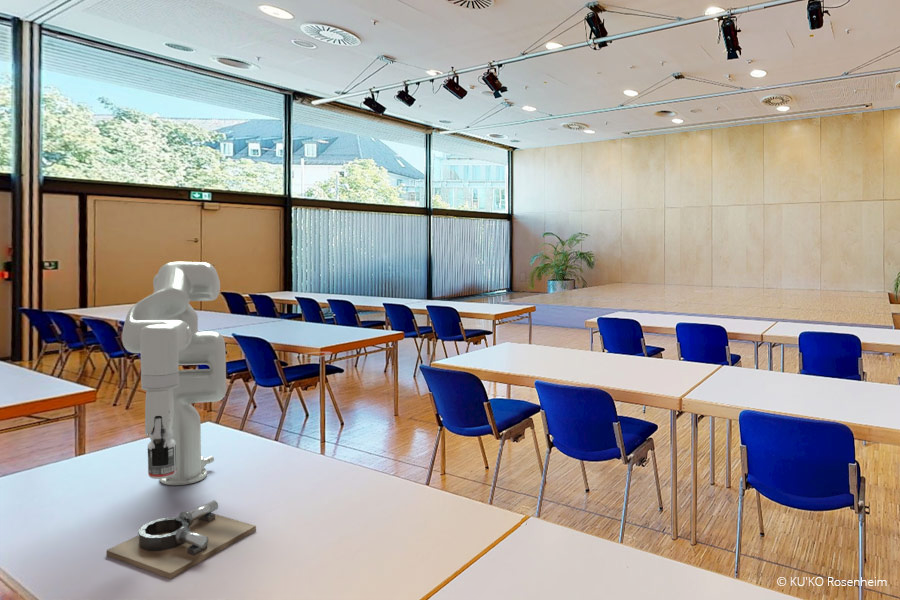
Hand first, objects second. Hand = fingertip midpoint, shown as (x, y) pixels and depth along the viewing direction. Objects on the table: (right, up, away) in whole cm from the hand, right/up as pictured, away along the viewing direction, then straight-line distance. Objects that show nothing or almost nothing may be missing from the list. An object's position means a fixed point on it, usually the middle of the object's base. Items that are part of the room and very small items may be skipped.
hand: (162, 459), depth 136 cm
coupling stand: (+4, -20, +3) cm, 20 cm away
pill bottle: (0, -4, 0) cm, 4 cm away
